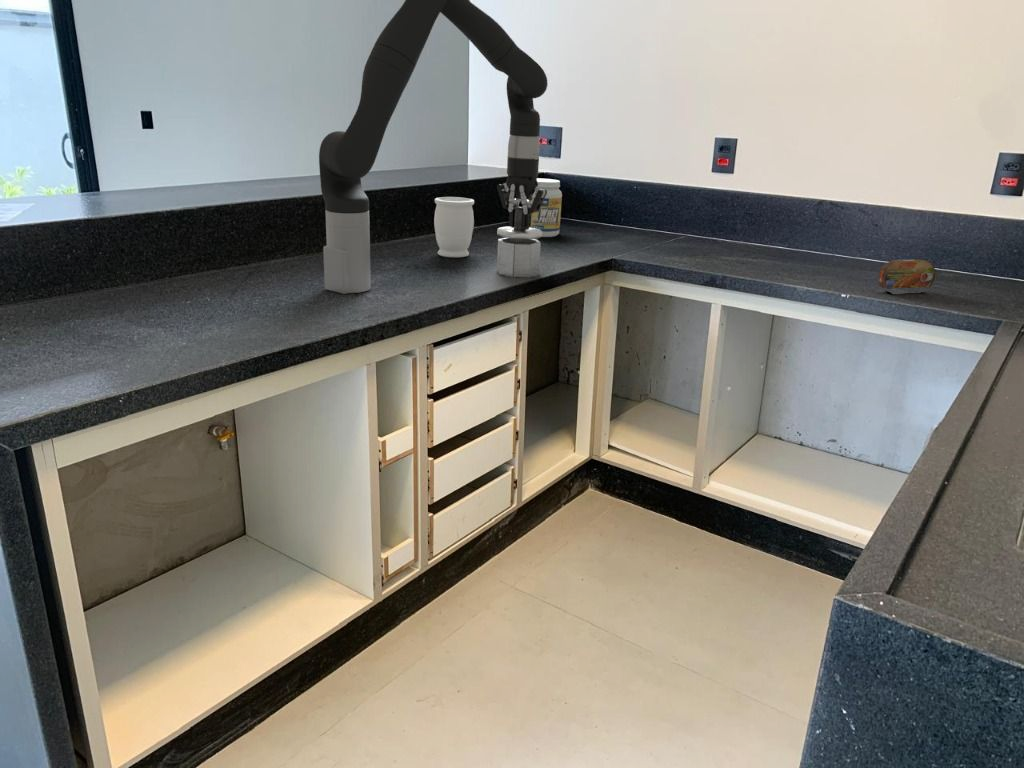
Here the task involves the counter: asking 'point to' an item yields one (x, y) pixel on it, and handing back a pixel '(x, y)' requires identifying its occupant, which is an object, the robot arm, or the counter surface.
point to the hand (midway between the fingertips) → (519, 228)
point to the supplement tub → (548, 209)
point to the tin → (907, 274)
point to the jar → (453, 225)
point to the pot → (518, 257)
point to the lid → (519, 228)
